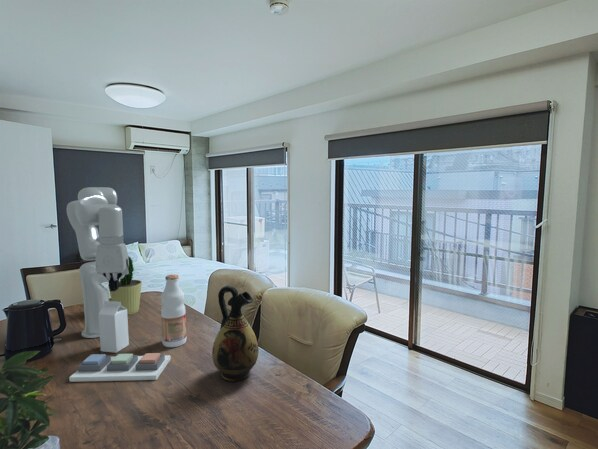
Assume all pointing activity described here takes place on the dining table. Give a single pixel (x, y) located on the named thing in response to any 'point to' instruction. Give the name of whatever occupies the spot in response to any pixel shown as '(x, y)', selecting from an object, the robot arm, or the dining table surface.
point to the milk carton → (113, 327)
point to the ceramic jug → (234, 338)
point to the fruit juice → (173, 313)
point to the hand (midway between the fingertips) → (114, 290)
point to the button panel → (120, 370)
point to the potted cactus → (128, 291)
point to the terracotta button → (150, 358)
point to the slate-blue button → (94, 359)
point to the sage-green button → (122, 359)
